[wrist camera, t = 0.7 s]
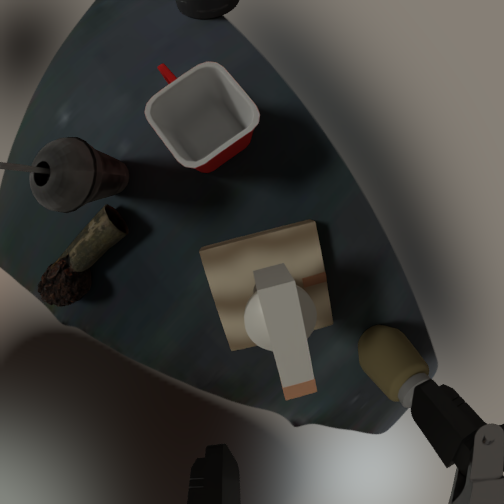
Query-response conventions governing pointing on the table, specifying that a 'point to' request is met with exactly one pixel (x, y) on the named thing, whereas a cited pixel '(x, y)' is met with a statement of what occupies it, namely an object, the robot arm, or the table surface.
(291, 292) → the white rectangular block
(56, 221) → the table surface
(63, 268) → the morel mushroom
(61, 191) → the beverage cup
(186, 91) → the mug
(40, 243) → the table surface
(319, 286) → the post block
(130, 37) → the table surface
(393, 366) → the squeeze bottle
